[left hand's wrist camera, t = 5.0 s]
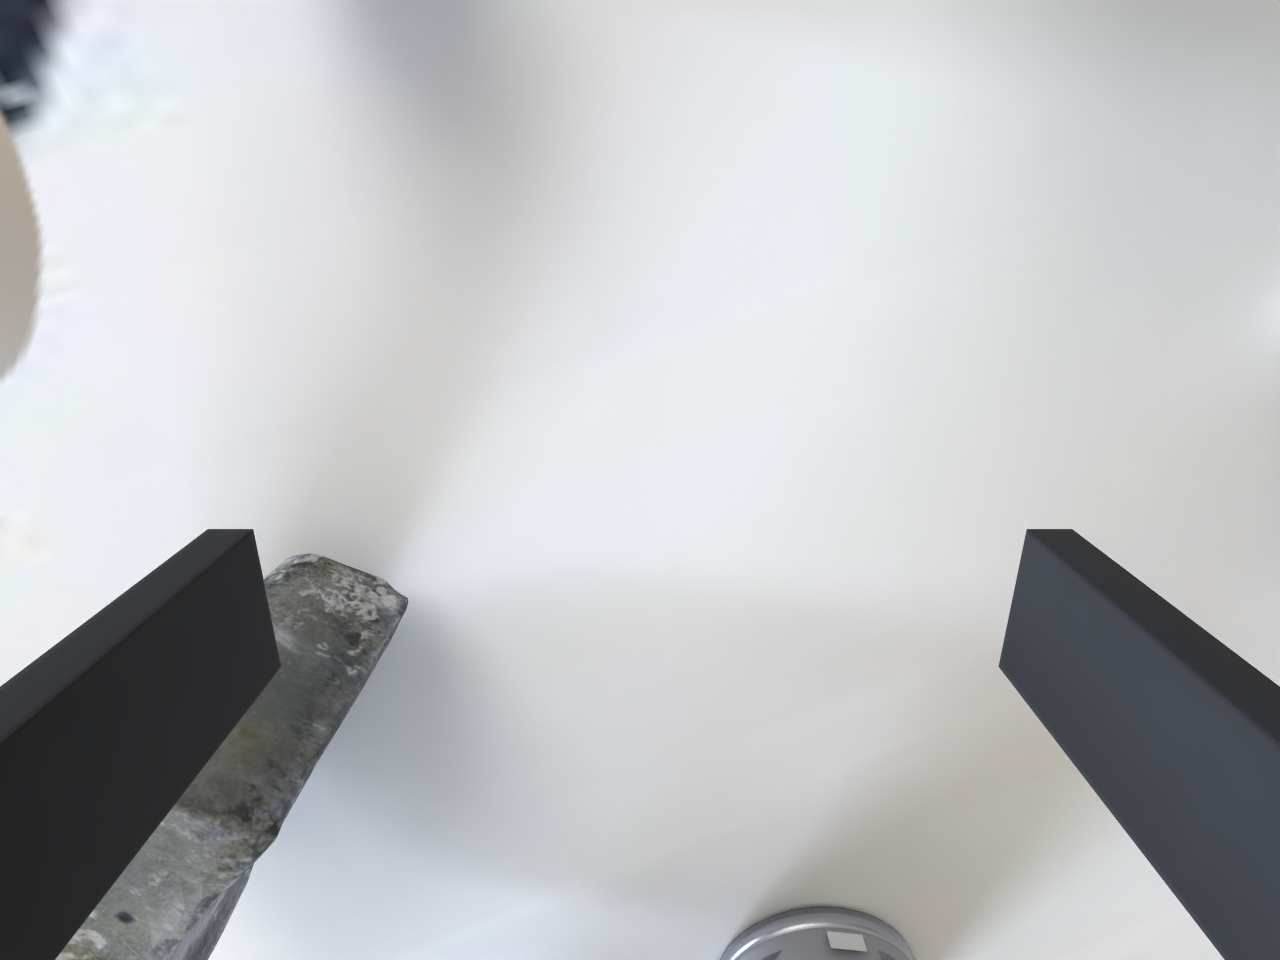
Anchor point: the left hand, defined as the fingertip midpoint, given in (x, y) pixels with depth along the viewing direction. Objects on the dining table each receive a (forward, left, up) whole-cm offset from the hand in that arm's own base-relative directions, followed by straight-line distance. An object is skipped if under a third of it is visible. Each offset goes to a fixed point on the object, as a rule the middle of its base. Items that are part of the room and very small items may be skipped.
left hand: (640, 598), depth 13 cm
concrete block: (-23, +23, -28) cm, 43 cm away
